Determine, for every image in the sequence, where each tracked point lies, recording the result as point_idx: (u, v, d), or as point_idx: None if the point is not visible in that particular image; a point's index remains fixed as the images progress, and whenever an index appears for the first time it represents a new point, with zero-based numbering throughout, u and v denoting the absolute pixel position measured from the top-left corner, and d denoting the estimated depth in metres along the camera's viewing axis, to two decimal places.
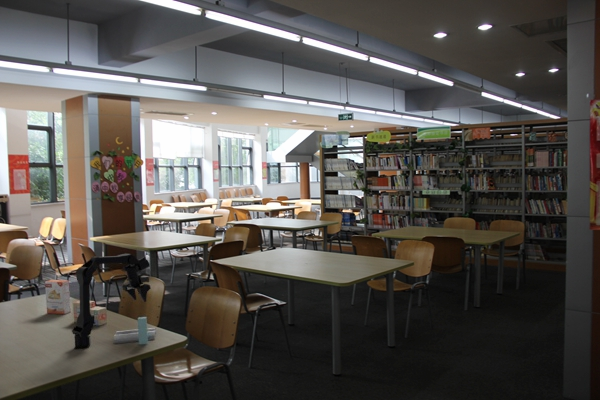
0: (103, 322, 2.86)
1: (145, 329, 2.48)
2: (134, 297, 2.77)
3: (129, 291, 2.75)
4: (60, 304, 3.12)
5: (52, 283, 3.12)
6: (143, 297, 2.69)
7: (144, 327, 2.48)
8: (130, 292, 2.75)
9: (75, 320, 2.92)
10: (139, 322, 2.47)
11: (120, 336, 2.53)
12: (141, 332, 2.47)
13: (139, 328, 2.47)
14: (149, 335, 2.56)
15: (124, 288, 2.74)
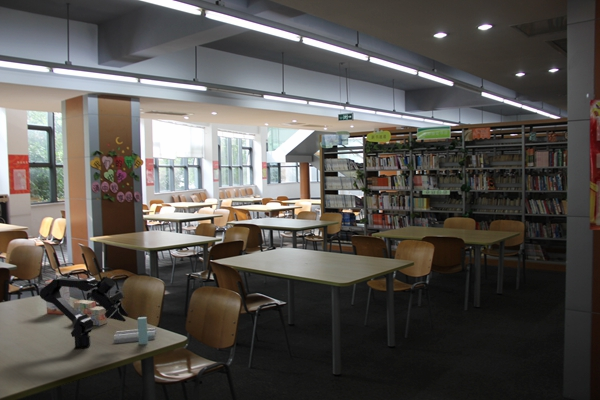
0: (104, 322, 2.86)
1: (145, 329, 2.48)
2: (124, 314, 2.51)
3: None
4: None
5: None
6: (118, 318, 2.41)
7: (144, 327, 2.48)
8: None
9: None
10: (139, 322, 2.47)
11: (120, 336, 2.53)
12: (141, 332, 2.47)
13: (139, 328, 2.47)
14: (149, 335, 2.56)
15: None
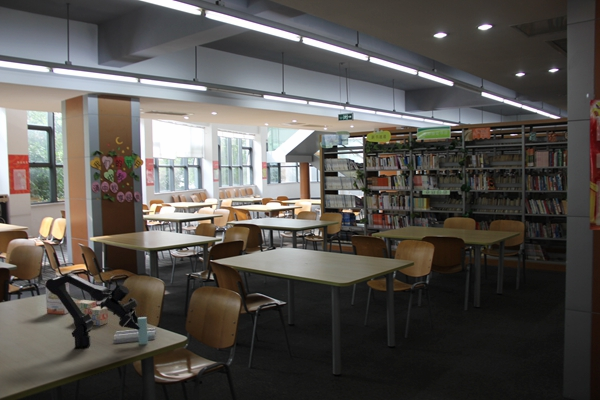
0: (104, 322, 2.86)
1: (145, 329, 2.48)
2: None
3: None
4: (60, 304, 3.12)
5: None
6: (132, 327, 2.42)
7: (144, 327, 2.48)
8: None
9: None
10: (139, 322, 2.47)
11: (120, 336, 2.53)
12: (141, 332, 2.47)
13: None
14: (149, 335, 2.56)
15: None
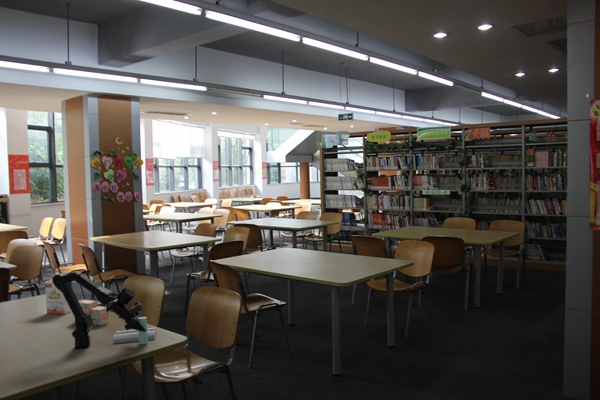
0: (105, 322, 2.86)
1: None
2: None
3: None
4: (60, 304, 3.12)
5: (52, 283, 3.12)
6: (138, 329, 2.46)
7: (144, 327, 2.48)
8: None
9: None
10: (139, 322, 2.47)
11: (120, 336, 2.53)
12: (141, 332, 2.47)
13: None
14: (149, 335, 2.56)
15: None
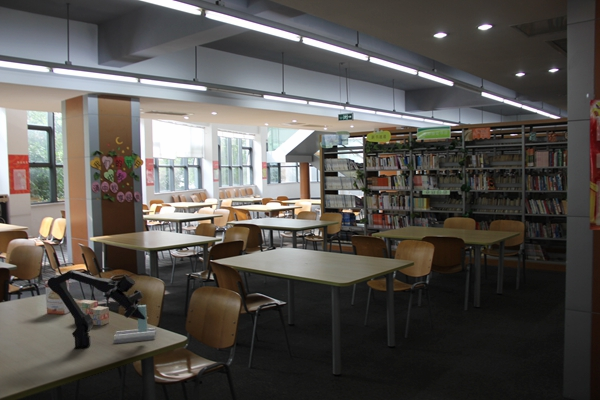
0: (105, 322, 2.86)
1: (145, 317, 2.49)
2: None
3: None
4: (60, 304, 3.12)
5: None
6: (138, 316, 2.47)
7: (144, 315, 2.49)
8: None
9: None
10: (139, 310, 2.48)
11: (120, 336, 2.53)
12: (141, 320, 2.48)
13: None
14: (149, 335, 2.56)
15: None
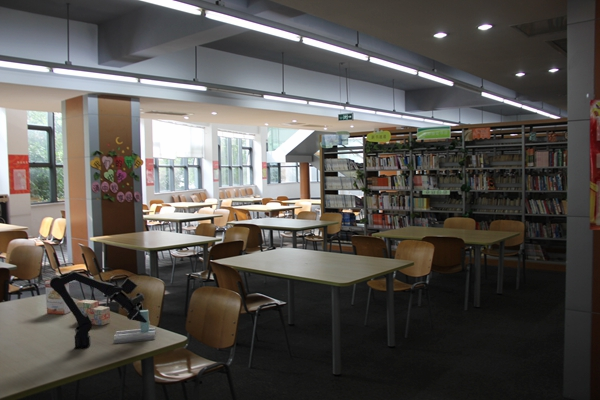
0: (106, 322, 2.87)
1: (147, 321, 2.57)
2: None
3: None
4: (60, 304, 3.12)
5: None
6: (139, 320, 2.53)
7: (146, 320, 2.57)
8: None
9: None
10: None
11: (120, 336, 2.53)
12: (143, 324, 2.57)
13: None
14: (149, 335, 2.56)
15: None
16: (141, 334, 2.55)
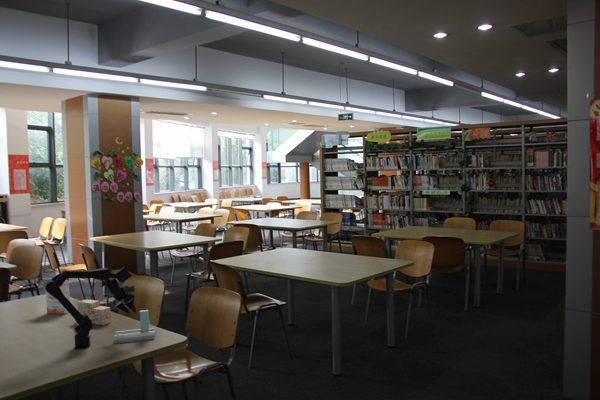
0: (107, 322, 2.87)
1: (147, 321, 2.57)
2: (126, 311, 2.62)
3: (119, 306, 2.61)
4: (60, 304, 3.12)
5: None
6: (131, 308, 2.54)
7: (146, 320, 2.57)
8: (120, 307, 2.61)
9: None
10: (141, 315, 2.57)
11: (120, 336, 2.53)
12: (143, 324, 2.57)
13: (141, 320, 2.57)
14: (149, 335, 2.56)
15: (113, 305, 2.61)
16: (141, 334, 2.55)
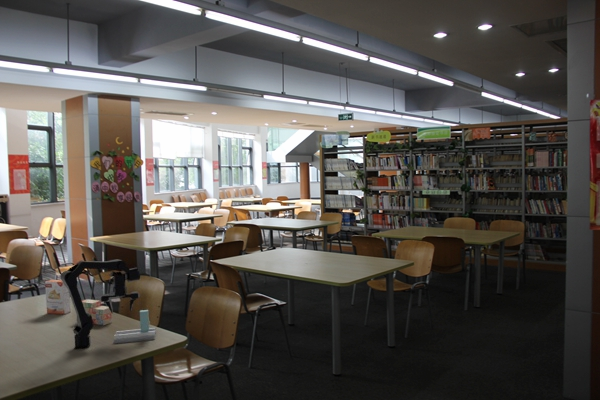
0: (108, 322, 2.87)
1: (147, 321, 2.57)
2: (112, 310, 2.60)
3: (110, 302, 2.58)
4: (60, 304, 3.12)
5: (52, 283, 3.12)
6: (132, 305, 2.61)
7: (146, 320, 2.57)
8: (110, 304, 2.58)
9: None
10: (141, 315, 2.57)
11: (120, 336, 2.53)
12: (143, 324, 2.57)
13: (141, 320, 2.57)
14: (149, 335, 2.56)
15: (105, 299, 2.56)
16: (141, 334, 2.55)
